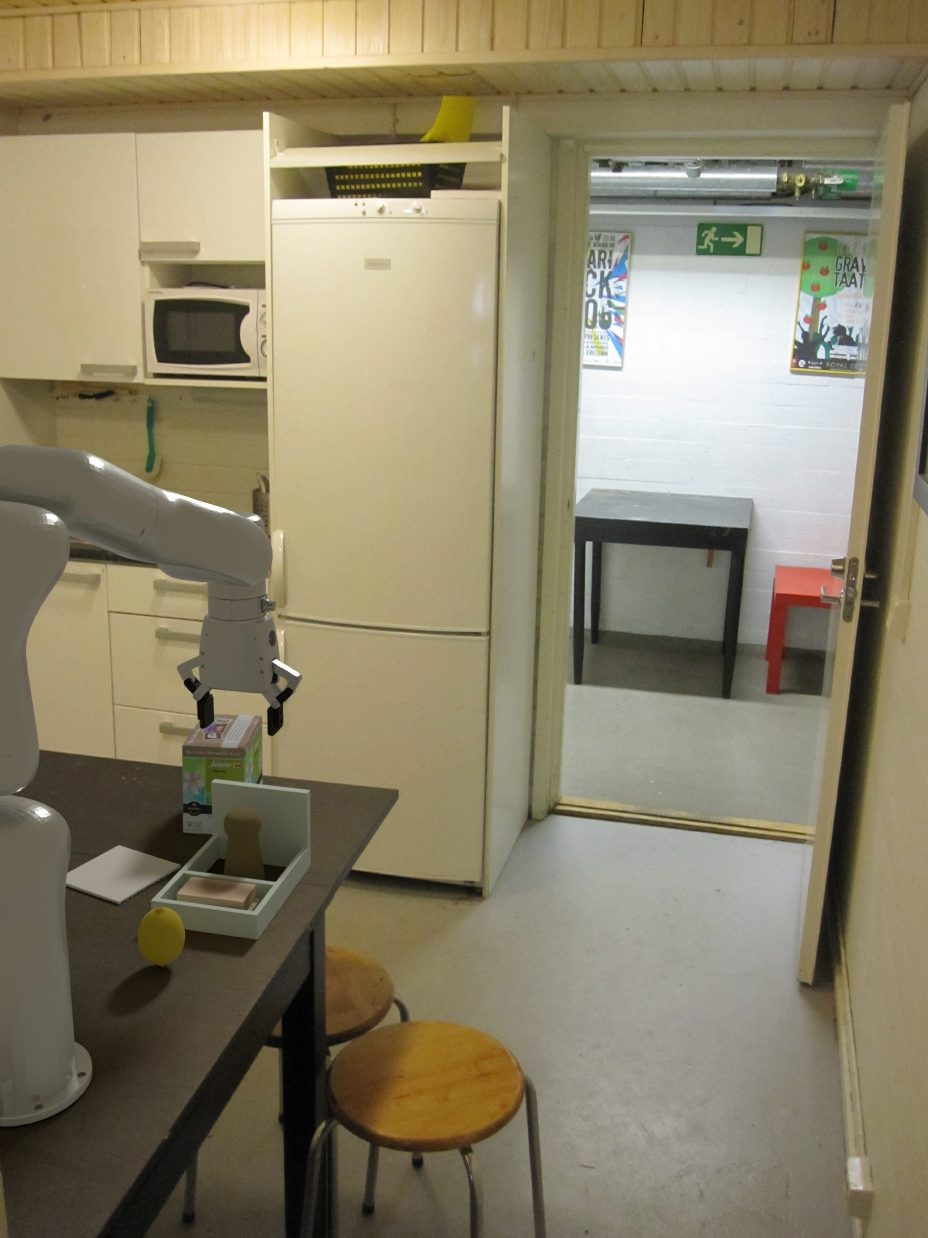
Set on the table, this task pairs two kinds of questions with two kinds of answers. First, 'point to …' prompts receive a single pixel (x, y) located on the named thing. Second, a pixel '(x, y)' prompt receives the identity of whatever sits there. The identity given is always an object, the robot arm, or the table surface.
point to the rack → (279, 846)
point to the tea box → (218, 764)
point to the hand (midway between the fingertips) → (240, 729)
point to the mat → (119, 874)
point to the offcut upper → (218, 893)
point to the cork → (243, 844)
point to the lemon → (161, 936)
